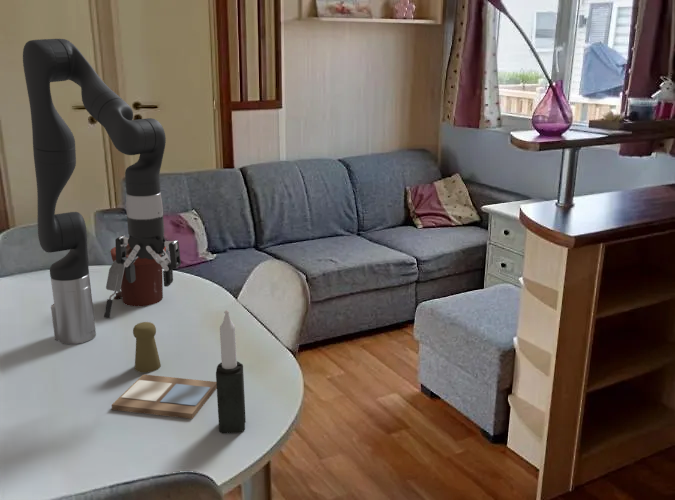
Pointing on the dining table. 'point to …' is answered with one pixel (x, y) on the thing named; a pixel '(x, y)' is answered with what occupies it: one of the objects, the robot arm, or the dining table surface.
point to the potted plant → (135, 282)
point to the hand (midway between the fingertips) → (149, 283)
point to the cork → (146, 348)
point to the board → (165, 396)
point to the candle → (230, 382)
